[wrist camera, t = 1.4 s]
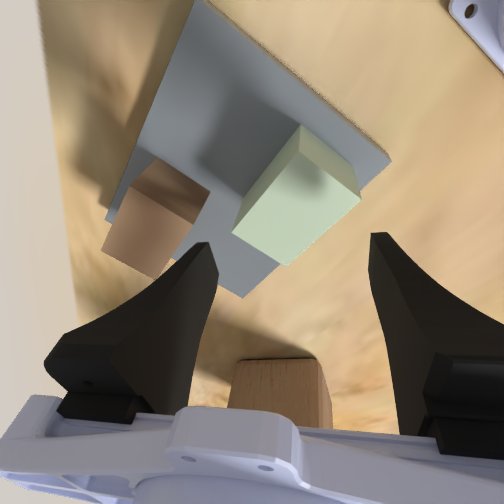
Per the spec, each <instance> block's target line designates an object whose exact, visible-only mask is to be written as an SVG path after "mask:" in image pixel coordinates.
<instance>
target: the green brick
mask: <svg viewBox="0 0 504 504" xmlns="http://www.w3.org/2000/svg"><path fill="white" fill-rule="evenodd" d="M361 200H362V198H361V194H360V191H359V187H358V183H357V179H356V175H355V171H354V167H353V165H351V164H350V163H349V162H348V161H346V160H345V159H344V158H343V157H341V156H340V155H339V154H338V153H336V152H335V151H334V150H333V149H331V148H330V147H329V146H328V145H326V144H325V143H324V142H323V141H322V140H320V139H319V138H318V137H317V136H315V135H314V134H313V133H312V132H310V131H309V130H308V129H307V128H305V127H304V126H303V125H302V124H300V126H299V127H298V128H297V130H296V131H295V132H294V133H293V135H292V136H291V137H290V139H289V140H288V141H287V142H286V144H285V145H284V146H283V148H282V149H281V150H280V151H279V153H278V154H277V155H276V157H275V158H274V159H273V160H272V162H271V163H270V164H269V166H268V167H267V168H266V169H265V171H264V172H263V173H262V175H261V176H260V177H259V178H258V180H257V181H256V182H255V184H254V185H253V186H252V187H251V189H250V190H249V191H248V192H247V194H246V195H245V196H244V198H243V200H242V203H241V206H240V209H239V212H238V215H237V217H236V220H235V223H234V226H233V229H232V232H231V233H233V234H234V235H236V236H238V237H239V238H241V239H242V240H244V241H246V242H247V243H249V244H250V245H252V246H253V247H255V248H257V249H258V250H260V251H261V252H263V253H265V254H266V255H268V256H269V257H271V258H273V259H274V260H276V261H277V262H279V263H280V264H282V265H284V266H285V267H287V266H288V265H289V264H290V263H291V262H292V261H294V260H295V259H296V258H297V257H298V256H299V255H300V254H301V253H303V252H304V251H305V250H306V249H307V248H308V247H309V246H310V245H311V244H313V243H314V242H315V241H316V240H317V239H318V238H319V237H320V236H322V235H323V234H324V233H325V232H326V231H327V230H328V229H329V228H331V227H332V226H333V225H334V224H335V223H336V222H337V221H338V220H339V219H341V218H342V217H343V216H344V215H345V214H346V213H347V212H348V211H350V210H351V209H352V208H353V207H354V206H355V205H356V204H357V203H359V202H360V201H361Z"/></svg>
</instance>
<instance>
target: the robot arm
mask: <svg viewBox="0 0 504 504" xmlns="http://www.w3.org/2000/svg"><path fill="white" fill-rule="evenodd" d="M470 4H473V5H474V7H475V8H474V12H473V14H472V15H471V16H470V17H468V18H465V16H464V13H465V10H466V8H467V7H468V6H469V5H470ZM448 7H449V13H450V15H451V16H452V17H453V18H454V19H455V20H456V21H457V22H458V24H459V25H460V26H461V27H462V28H463V29H464V30H465V31H466V32H467V34H468V35H469V36H470V37H471V38H472V39H473V40H474V41H475V42H476V44H477V45H478V46H479V47H480V48H481V49H482V50H483V51H484V52H485V54H486V55H487V56H488V57H489V58H490V59H491V60H492V61H493V62H494V64H495V65H496V66H497V67H498V68H499V69H500V70H501V71H502V72H503V74H504V0H450V3H449V6H448ZM368 272H369V279H370V286H371V291H372V295H373V298H374V302H375V305H376V309H377V312H378V316H379V319H380V323H381V326H382V330H383V333H384V337H385V342H386V346H387V352H388V358H389V364H390V370H391V376H392V383H393V389H394V396H395V403H396V410H397V417H398V425H399V432H400V435H395V434H383V433H372V432H360V431H348V430H336V429H325V428H313V427H301V426H295V425H294V423H293V422H292V421H291V420H290V419H288V418H286V417H284V416H282V415H280V414H277V413H272V412H267V411H259V410H245V409H232V408H219V407H206V406H188V400H189V394H190V388H191V382H192V376H193V371H194V366H195V361H196V356H197V351H198V347H199V342H200V339H201V335H202V332H203V329H204V326H205V323H206V320H207V317H208V314H209V311H210V308H211V306H212V303H213V300H214V297H215V293H216V289H217V284H218V278H219V271H218V268H217V265H216V262H215V259H214V256H213V253H212V250H211V247H210V244H209V242H197V243H196V244H194V245H193V246H192V247H191V248H190V249H189V250H188V251H187V252H186V253H185V254H184V255H183V256H182V257H181V258H180V259H179V260H178V261H176V262H175V263H174V264H173V265H172V266H171V267H170V268H169V269H168V270H167V271H166V272H165V273H163V274H162V275H161V276H160V277H159V278H158V279H157V280H155V281H154V282H153V283H152V284H151V285H149V286H148V287H147V288H145V289H144V290H143V291H141V292H140V293H139V294H137V295H136V296H134V297H133V298H131V299H130V300H128V301H127V302H125V303H124V304H122V305H120V306H119V307H117V308H116V309H114V310H112V311H110V312H109V313H107V314H105V315H103V316H101V317H99V318H97V319H96V320H94V321H92V322H90V323H88V324H85V325H83V326H81V327H79V328H76V329H74V330H72V331H70V332H68V333H65V334H64V335H63V336H62V337H61V339H60V340H59V341H58V343H57V344H56V345H55V347H54V348H53V349H52V351H51V352H50V353H49V355H48V356H47V357H46V359H45V360H44V367H45V369H46V371H47V372H48V373H49V375H50V376H51V377H52V378H54V379H55V380H56V381H57V382H58V383H59V384H60V385H61V386H63V387H64V388H65V389H66V390H67V391H68V392H67V394H66V396H65V397H64V399H62V398H59V397H55V396H46V395H32V396H31V397H30V398H29V400H28V401H27V403H26V404H25V405H24V407H23V408H22V409H21V411H20V412H19V414H18V415H17V417H16V418H15V419H14V421H13V422H12V424H11V425H10V426H9V428H8V429H7V431H6V432H5V434H4V435H3V436H2V438H1V439H0V477H2V478H4V479H6V480H8V481H10V482H13V483H14V484H17V485H19V486H21V487H23V488H25V489H27V490H32V491H37V492H43V493H49V494H54V495H59V496H64V497H69V498H73V499H77V500H82V501H86V502H91V503H95V504H504V324H502V323H500V322H498V321H496V320H494V319H492V318H491V317H489V316H487V315H485V314H483V313H482V312H480V311H478V310H477V309H475V308H473V307H472V306H470V305H469V304H467V303H465V302H464V301H462V300H461V299H459V298H458V297H456V296H455V295H453V294H452V293H450V292H449V291H448V290H446V289H445V288H444V287H442V286H441V285H440V284H438V283H437V282H436V281H435V280H434V279H432V278H431V277H430V276H429V275H428V274H427V273H426V272H424V271H423V270H422V269H421V268H420V267H419V266H418V265H417V264H416V263H415V262H414V261H413V260H412V259H411V258H410V257H409V256H408V255H407V254H406V253H405V252H404V251H403V250H402V249H401V247H400V246H399V245H398V244H397V243H396V242H395V241H394V239H393V238H392V237H391V236H390V235H389V234H388V233H387V232H378V233H371V239H370V252H369V265H368Z"/></svg>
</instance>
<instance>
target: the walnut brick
mask: <svg viewBox="0 0 504 504" xmlns="http://www.w3.org/2000/svg"><path fill="white" fill-rule="evenodd" d="M209 194H210V191H209V190H207V189H206V188H204V187H203V186H201V185H200V184H198V183H197V182H195V181H194V180H192V179H191V178H189V177H188V176H186V175H185V174H183V173H182V172H180V171H178V170H177V169H175V168H174V167H172V166H171V165H169V164H168V163H166V162H165V161H163V160H162V159H160V158H159V157H157V158H156V159H155V160H154V161H153V162H152V163H151V164H150V165H149V166H148V167H147V168H146V169H145V170H144V171H143V172H142V173H141V174H140V175H139V176H138V177H137V178H136V179H135V181H134V182H133V183H132V184H131V185H130V186H129V188H128V190H127V192H126V194H125V197H124V199H123V201H122V204H121V206H120V208H119V210H118V213H117V215H116V217H115V219H114V222H113V224H112V226H111V228H110V231H109V233H108V235H107V238H106V240H105V242H104V244H103V247H102V249H101V251H102V252H104V253H106V254H108V255H110V256H112V257H114V258H115V259H117V260H119V261H121V262H123V263H125V264H127V265H128V266H130V267H132V268H134V269H136V270H138V271H140V272H141V273H143V274H145V275H147V276H149V277H151V278H153V279H154V280H156V279H157V277H158V276H159V274H160V273H161V271H162V270H163V268H164V267H165V265H166V264H167V263H168V261H169V260H170V258H171V257H172V255H173V254H174V252H175V251H176V250H177V248H178V247H179V245H180V244H181V242H182V241H183V239H184V238H185V237H186V235H187V234H188V232H189V231H190V229H191V228H192V226H193V225H194V223H195V221H196V219H197V217H198V215H199V214H200V212H201V210H202V208H203V206H204V204H205V202H206V200H207V198H208V196H209Z"/></svg>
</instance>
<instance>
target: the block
mask: <svg viewBox="0 0 504 504" xmlns="http://www.w3.org/2000/svg"><path fill="white" fill-rule="evenodd" d="M227 408H232V409H245V410H259V411H267V412H272V413H277V414H280V415H282V416H284V417H286V418H288V419H290V420H291V421H292V422H293V423H294V425H295V426H301V427H313V428H325V429H333V419H332V403H331V399H330V395H329V392H328V388H327V385H326V381H325V378H324V374H323V371H322V368H321V365H320V363H319V362H318V361H317V360H314V359H280V360H244V361H240V362H238V363H237V365H236V367H235V372H234V377H233V381H232V386H231V391H230V396H229V401H228V406H227Z"/></svg>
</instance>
